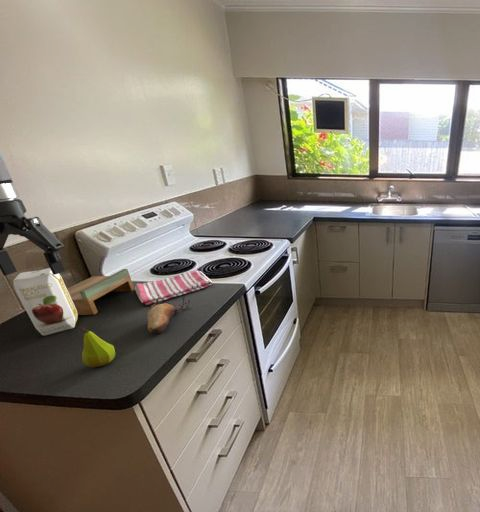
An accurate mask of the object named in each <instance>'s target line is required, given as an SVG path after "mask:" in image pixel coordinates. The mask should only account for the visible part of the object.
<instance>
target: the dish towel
mask: <svg viewBox="0 0 480 512" xmlns="http://www.w3.org/2000/svg"><path fill="white" fill-rule="evenodd" d="M213 284H214V283H213V281H212V280H211V279H210V278H209V277H208V276H206V274H204V273H203V272H202V271H201V270H191V271H187V272H183V273H180V274H177V275H174V276H170V277H167V278H162V279H159V280H152V281H147V282H143V283H135V285H133V286H134V289H135V290H134V291H135V293H136V295H137V297H138V299H139V301H140V302H141V303H142V304H144V305H145V306H151V305H153V304H155V303H156V302H157V299H158V297H159V299H158V302H157V303H160V302H161V301H162V302H163V301H167V300H170V299H171V298H176V297H180V296H183V295H187V294H189V293H192V292H196V291H200V290H202V289H205V288H207V287H211V286H212V285H213ZM157 295H159V296H157ZM162 299H163V300H162ZM157 303H156V304H157Z"/></svg>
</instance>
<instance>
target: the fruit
mask: <svg viewBox="0 0 480 512" xmlns="http://www.w3.org/2000/svg"><path fill="white" fill-rule="evenodd" d="M80 330H83V331H85V332H84V334H83V350H82V352H81V360H82V363H83V364H84V365H85V366H87V367H90V368H98V367H103V366H106V365H109V363H110V362H112V361H113V360H114V359H115V357H116V352H115V351H116V350H115V346H114V345H113V344H112V343H108V342H107V341H105V340H103V339H102V338H100V337H99V336H98V335H96V334H95V333H94V332H93V331H91V330H88V329H86V328H84V327H81V328H80Z"/></svg>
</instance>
